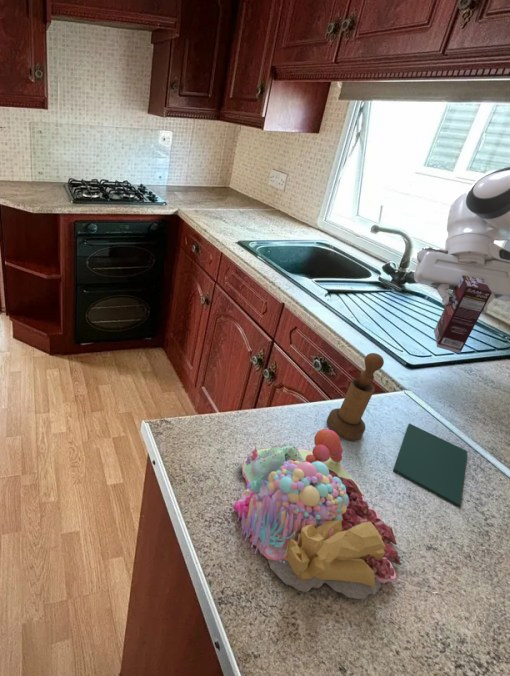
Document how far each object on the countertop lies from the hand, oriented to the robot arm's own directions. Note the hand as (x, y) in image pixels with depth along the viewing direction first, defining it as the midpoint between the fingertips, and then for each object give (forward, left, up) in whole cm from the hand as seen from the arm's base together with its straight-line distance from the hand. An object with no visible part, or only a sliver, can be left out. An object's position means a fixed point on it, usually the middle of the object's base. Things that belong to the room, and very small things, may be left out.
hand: (464, 308), depth 91 cm
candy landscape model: (+30, +52, -20) cm, 63 cm away
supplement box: (0, -1, -10) cm, 10 cm away
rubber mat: (+7, +30, -20) cm, 37 cm away
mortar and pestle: (+22, +28, -20) cm, 41 cm away
